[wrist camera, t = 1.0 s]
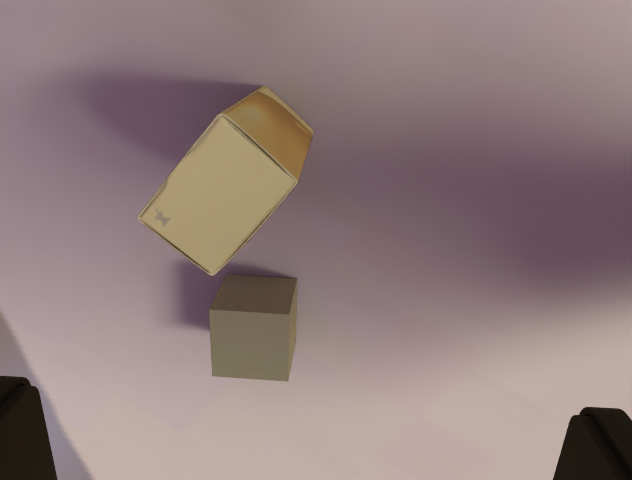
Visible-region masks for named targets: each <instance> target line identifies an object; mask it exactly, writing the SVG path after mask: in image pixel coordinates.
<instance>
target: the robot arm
mask: <svg viewBox="0 0 632 480" xmlns="http://www.w3.org/2000/svg"><path fill="white" fill-rule="evenodd" d="M0 480H57V476H56V471H55V466H54V461H53V456H52V451H51V447H50V442H49V437H48V432H47V428H46V423H45V419H44V414H43V409H42V404H41V399H40V394H39V391H38V389H37V388H36V387H34V386H31V384H30V382H29V380H28V379H27V378H24V377H11V376H0ZM553 480H632V420H631V419H630V418H629V416H628V415H627V414H626V413H625V412H624V411H623V410H621V409H616V408H597V407H585V408H583V409H582V410H581V412H580V414H579V415H573V416H572V417H571V419H570V422H569V425H568V429H567V432H566V436H565V439H564V443H563V446H562V450H561V453H560V457H559V460H558V464H557V467H556V471H555V474H554V478H553Z"/></svg>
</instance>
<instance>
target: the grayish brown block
mask: <svg viewBox="0 0 632 480" xmlns="http://www.w3.org/2000/svg"><path fill="white" fill-rule="evenodd" d="M296 313H297V278H280V277H263V276H246V275H229V274H226V276H225V278H224V280H223V282H222V284H221V286H220V288H219V290H218V292H217V294H216V296H215V298H214V300H213V302H212V304H211V306H210V308H209V323H210V342H211V360H212V376H218V377H233V378H247V379H262V380H276V381H288V380H289V375H290V369H291V364H292V358H293V353H294V347H295V342H296Z"/></svg>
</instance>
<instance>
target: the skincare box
mask: <svg viewBox="0 0 632 480" xmlns="http://www.w3.org/2000/svg"><path fill="white" fill-rule="evenodd" d="M313 134H314V130H313V129H312V128H311V127H310V126H309V125H308V124H307V123H306V122H305V121H304V120H303V119H302V118H301V117H300V116H298V115H297V114H296V113H295V112H294V111H293V110H292V109H291V108H290V107H289V106H288V105H287V104H286V103H285V102H283V101H282V100H281V99H280V98H279V97H278V96H277V95H276V94H275V93H273V92H272V91H271V90H270V89H269V88H268V87H266V86H262V87H260V88H259V89H257V90H256V91H254V92H252V93H251V94H249V95H248V96H246V97H244V98H243V99H241V100H240V101H238V102H237V103H235V104H234V105H232V106H230V107H229V108H227V109H225V110H224V111H222V112H221V113H219V114H218V115H217V116H216V117H215V118H214V120H213V121H212V122H211V123H210V125H209V126H208V127H207V128H206V130H205V131H204V132H203V133H202V134H201V136H200V137H199V138H198V139H197V141H196V142H195V143H194V144H193V146H192V147H191V148H190V149H189V151H188V152H187V153H186V154H185V156H184V157H183V158H182V160H181V161H180V162H179V163H178V165H177V166H176V167H175V168H174V170H173V171H172V172H171V174H170V175H169V176H168V177H167V179H166V180H165V181H164V183H163V184H162V185H161V187H160V188H159V189H158V190H157V192H156V193H155V194H154V196H153V197H152V198H151V199H150V201H149V202H148V203H147V205H146V206H145V207H144V208H143V210H142V211H141V212H140V213H139V215H138V217H137V219H138V220H139V221H140V222H141V223H142V224H144V225H145V226H146V227H148V228H149V229H150V230H151V231H152V232H154V233H155V234H156V235H158V236H159V237H160V238H161V239H162V240H164V241H165V242H166V243H168V244H169V245H170V246H171V247H173V248H174V249H175V250H176V251H178V252H179V253H180V254H182V255H183V256H184V257H185V258H187V259H188V260H189V261H191V262H192V263H194V264H195V265H196V266H198V267H199V268H201V269H202V270H203V271H205V272H206V273H207V274H209V275H211V276H214V275H215V274H216V273H217V272H218V271H219V270H221V269H222V268H223V267H224V266H225V265H226V264H227V263H228V262H229V261H230V260H231V259H232V258H233V257H234V256H235V255H236V254H237V253H238V251H239V250H240V249H241V248H242V247H243V246H244V245H245V244H246V243H247V242H248V241H249V239H250V238H251V237H252V236H253V235H254V234H255V233H256V232H257V230H258V229H259V228H260V227H261V226H262V225H263V224H264V223H265V221H266V220H267V219H268V218H269V217H270V216H271V214H272V213H273V212H274V211H275V210H276V208H277V207H278V206H279V205H280V204H281V202H282V201H283V200H284V199H285V198H286V196H287V195H288V194H289V193H290V192H291V190H292V189H293V188H294V187H295V186H296V184H297V183H298V180H299V176H300V173H301V170H302V167H303V164H304V161H305V158H306V155H307V152H308V149H309V145H310V142H311V140H312V137H313Z"/></svg>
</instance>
